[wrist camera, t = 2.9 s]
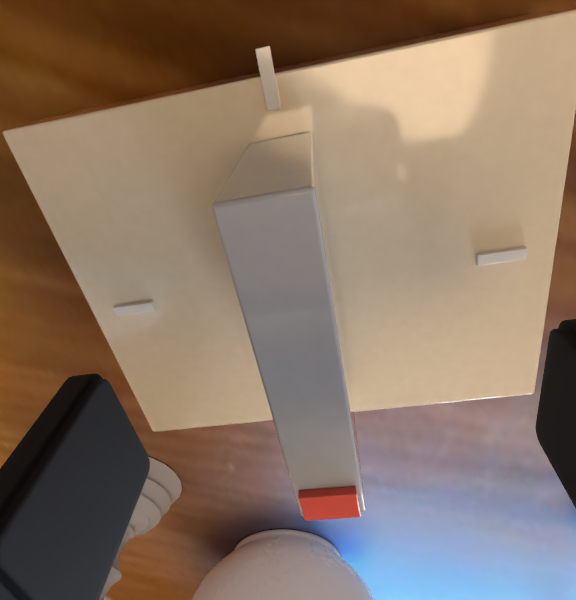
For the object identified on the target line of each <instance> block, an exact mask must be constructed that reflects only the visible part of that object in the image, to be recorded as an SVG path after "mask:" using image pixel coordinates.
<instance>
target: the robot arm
mask: <svg viewBox="0 0 576 600" xmlns="http://www.w3.org/2000/svg"><path fill="white" fill-rule="evenodd" d="M536 433H537V437H538V440H539V442H540V445H541V446H542V448H543V450H544V452H545V454H546V455H547V457H548V459H549V461H550V463H551V464H552V466H553V468H554V470H555V472H556V473H557V475H558V477H559V479H560V481H561V482H562V484H563V486H564V488H565V490H566V491H567V493H568V495H569V497H570V499H571V500H572V502H573V504H574V506H575V508H576V319H572V320H564V321H562V322H561V323H560V325H559V328H558V329H553V330H552V331H551V332H550V336H549V342H548V349H547V355H546V362H545V368H544V375H543V381H542V388H541V395H540V401H539V408H538V414H537V421H536ZM149 469H150V460H149V457H148V454H147V453H146V451H145V449H144V447H143V445H142V443H141V441H140V439H139V437H138V436H137V434H136V432H135V430H134V428H133V426H132V424H131V422H130V421H129V419H128V417H127V415H126V413H125V411H124V409H123V407H122V405H121V404H120V402H119V400H118V398H117V396H116V394H115V392H114V390H113V388H112V387H111V385H110V383H109V382H108V381H107V380H106V379H103V378H102V377H101V376H100V375H98V374H87V375H78V376H72V377H69V378H68V379H67V380H66V381H65V382H64V384H63V385H62V386H61V388H60V389H59V390H58V392H57V393H56V395H55V396H54V397H53V399H52V400H51V401H50V403H49V404H48V405H47V407H46V408H45V409H44V411H43V412H42V413H41V415H40V416H39V417H38V419H37V420H36V421H35V423H34V424H33V426H32V427H31V428H30V430H29V431H28V432H27V434H26V435H25V436H24V438H23V439H22V440H21V442H20V443H19V444H18V446H17V447H16V448H15V450H14V451H13V452H12V454H11V455H10V456H9V458H8V459H7V461H6V462H5V463H4V465H3V466H2V467H1V469H0V600H99V599H100V596H101V593H102V591H103V588H104V586H105V583H106V581H107V578H108V576H109V573H110V570H111V568H112V565H113V563H114V560H115V558H116V555H117V553H118V550H119V547H120V545H121V542H122V540H123V537H124V535H125V532H126V530H127V527H128V524H129V522H130V519H131V517H132V514H133V512H134V509H135V507H136V504H137V501H138V499H139V496H140V494H141V491H142V489H143V486H144V483H145V481H146V478H147V476H148V473H149Z"/></svg>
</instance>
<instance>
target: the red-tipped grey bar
mask: <svg viewBox="0 0 576 600" xmlns="http://www.w3.org/2000/svg"><path fill="white" fill-rule="evenodd" d="M212 211H213V215H214V218H215V221H216V225H217V228H218V232H219V235H220V239H221V242H222V246H223V249H224V252H225V256H226V259H227V263H228V266H229V270H230V273H231V277H232V280H233V283H234V287H235V290H236V294H237V297H238V301H239V304H240V308H241V311H242V314H243V318H244V321H245V325H246V328H247V332H248V335H249V338H250V342H251V345H252V349H253V352H254V356H255V359H256V363H257V366H258V369H259V373H260V376H261V380H262V383H263V387H264V390H265V394H266V397H267V400H268V404H269V407H270V411H271V414H272V418H273V421H274V425H275V428H276V431H277V435H278V438H279V442H280V445H281V449H282V452H283V456H284V459H285V462H286V466H287V469H288V473H289V476H290V480H291V483H292V486H293V490H294V493H295V497H296V500H297V504H298V507H299V511H300V514H301V515H303V516H304V520H305V521H308V520H323V519H338V518H353V517H360V516H361V515H360V512H363V511H365V508H366V507H365V499H364V490H363V482H362V473H361V465H360V456H359V448H358V440H357V431H356V423H355V414H354V406H353V397H352V389H351V381H350V375H349V368H348V361H347V355H346V348H345V341H344V335H343V328H342V321H341V315H340V308H339V301H338V294H337V288H336V281H335V274H334V268H333V261H332V254H331V248H330V241H329V234H328V228H327V221H326V214H325V207H324V201H323V194H322V187H321V181H320V174H319V167H318V161H317V154H316V147H315V140H314V135H313V133H310V132H309V133H304V134H299V135H293V136H288V137H283V138H278V139H273V140H267V141H262V142H257V143H252V144H249V145H248V146H247V147H246V149H245V151H244V152H243V154H242V156H241V157H240V159H239V161H238V162H237V164H236V166H235V167H234V169H233V171H232V172H231V174H230V176H229V177H228V179H227V181H226V182H225V184H224V186H223V187H222V189H221V191H220V192H219V194H218V196H217V197H216V199H215V201H214V202H213V204H212Z"/></svg>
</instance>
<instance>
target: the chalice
mask: <svg viewBox="0 0 576 600" xmlns="http://www.w3.org/2000/svg"><path fill="white" fill-rule="evenodd" d="M149 460H150V469H149V473H148V476H147V478H146V481H145V483H144V486H143V489H142V491H141V494H140V496H139V499H138V501H137V504H136V507H135V509H134V512H133V514H132V517H131V519H130V522H129V524H128V527H127V530H126V532H125V535H124V537H123V540H122V542H121V545H120V547H119V550H118V553H117V555H116V558H115V560H114V563H113V565H112V568H111V570H110V573H109V576H108V578H107V581H106V583H105V586H104V588H103V591H102V593H101V596H100V599H99V600H104V597H105V595H106V594H107V592H108V591H109V589H110V587H111V586H112V585H113V584H115V583H116V582H118V581H119V580H120V579H121V577H122V575H121V573H120V571H119V568H118V566H119V560H120V554H121V550H122V549H123V547H124V545H125V544H126V542H127V540H129V539H131V538H133V537H134V536H139V535H142V534H144V533H146V532H148V531H149V530H151V529H152V528H154V527H155V526H156V525H157V524H158V523H159V522H160V519H161V517H162V516H163V515H164V514H166V513H167V512H168V511H169V508H170V505H172V504H173V503H174V502H175V501H176V500H177V499H178V498H179V497H180V494H181V491H182V486H181V481H180V479H179V478H178V476H177V475H176V473H175V472H174V471H173V470H171V469H170V468H169V467H168V466H166V465H165V464H164V463H161V462H159V461H157V460H155V459H153V458H150V457H149Z"/></svg>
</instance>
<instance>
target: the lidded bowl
mask: <svg viewBox="0 0 576 600" xmlns="http://www.w3.org/2000/svg"><path fill="white" fill-rule="evenodd" d="M190 600H375V599H374V597H373V595H372V593H371V591H370V590H369V588H368V587H367V585H366V584H365V582H364V581H363V579H362V578H361V577H360V576H359V574H358V573H357V572H356V571H355V570H354V569H353V568H352V567H351V566H350V565H349V564H348V563H347V562H346V561H345V560H343V559H342V558H341V555H340V553H339V551H338V550H337V549H336V547H335V546H333V545H332V544H331V543H330V542H328V541H327V540H325V539H323V538H321V537H319V536H317V535H314V534H311V533H307V532H303V531H297V530H284V529H279V530H268V531H263V532H259V533H255V534H253V535H250V536H248V537H246V538H245V539H243V540H242V541H241V542H239V543H238V544H237V546H236V547H235V549H234V551H233V552H231V553H230V554H229V555H227V556H226V557H225V558H223V559H222V560H221V561H220V562H219V563H218V564H217V565H215V566H214V567H213V568H212V569H211V571H210V572H209V573H208V574H207V576H206V577H205V578H204V579H203V581H202V582H201V583H200V584H199V586H198V588H197V589H196V591H195V593H194V594H193V596H192V598H191V599H190Z"/></svg>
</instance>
